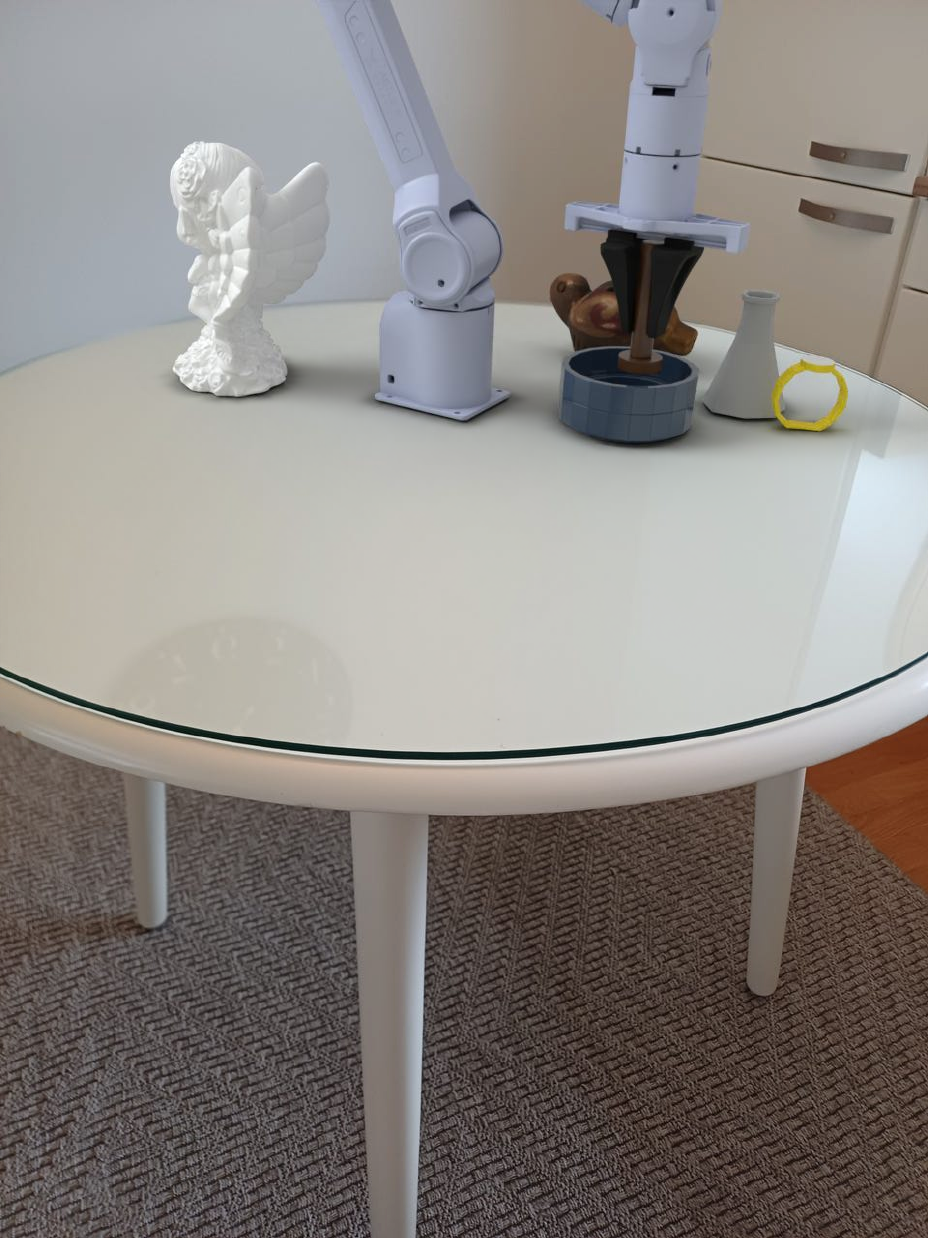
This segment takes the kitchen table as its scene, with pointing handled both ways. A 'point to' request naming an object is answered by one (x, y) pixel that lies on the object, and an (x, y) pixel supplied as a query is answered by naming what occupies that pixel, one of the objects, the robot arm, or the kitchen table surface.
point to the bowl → (626, 396)
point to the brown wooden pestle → (642, 321)
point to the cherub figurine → (242, 261)
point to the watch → (818, 366)
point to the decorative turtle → (608, 317)
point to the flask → (749, 363)
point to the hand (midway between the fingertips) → (642, 332)
